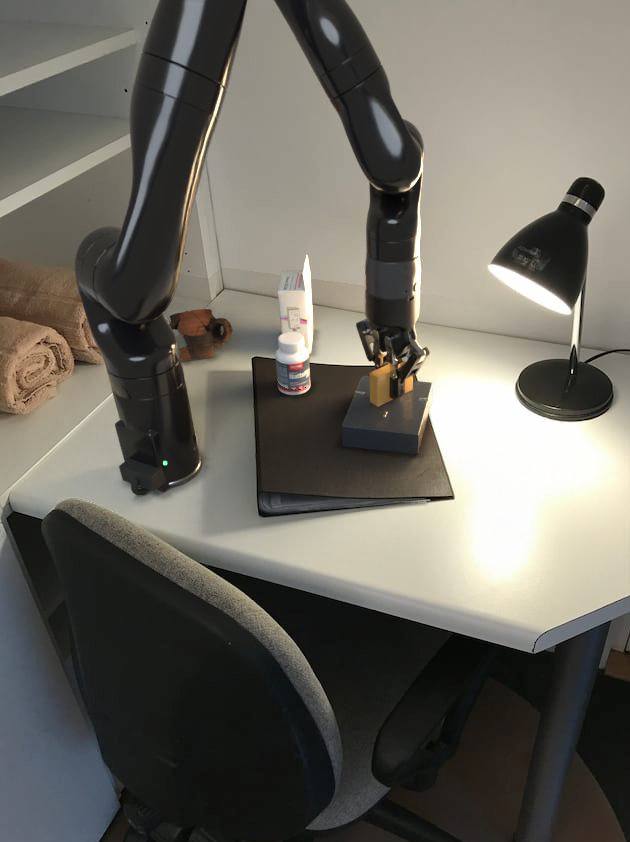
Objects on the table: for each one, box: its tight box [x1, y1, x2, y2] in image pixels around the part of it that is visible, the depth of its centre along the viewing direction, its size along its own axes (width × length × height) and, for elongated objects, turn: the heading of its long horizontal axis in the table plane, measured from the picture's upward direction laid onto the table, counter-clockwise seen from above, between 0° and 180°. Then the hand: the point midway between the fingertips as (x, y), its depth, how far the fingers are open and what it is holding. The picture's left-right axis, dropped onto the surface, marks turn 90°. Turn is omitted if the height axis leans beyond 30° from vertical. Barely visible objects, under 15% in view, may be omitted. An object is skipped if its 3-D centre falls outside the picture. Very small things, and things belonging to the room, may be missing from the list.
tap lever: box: [369, 364, 414, 407], centre depth 111 cm, size 7×2×5 cm, turn 130°
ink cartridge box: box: [276, 254, 314, 355], centre depth 128 cm, size 9×5×15 cm, turn 179°
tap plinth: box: [341, 375, 433, 455], centre depth 112 cm, size 15×11×4 cm
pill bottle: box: [274, 332, 311, 396], centre depth 119 cm, size 5×5×9 cm
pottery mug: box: [168, 308, 234, 362], centre depth 131 cm, size 12×10×8 cm
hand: (390, 393), depth 112 cm, fingers closed on tap lever, 2 cm apart
